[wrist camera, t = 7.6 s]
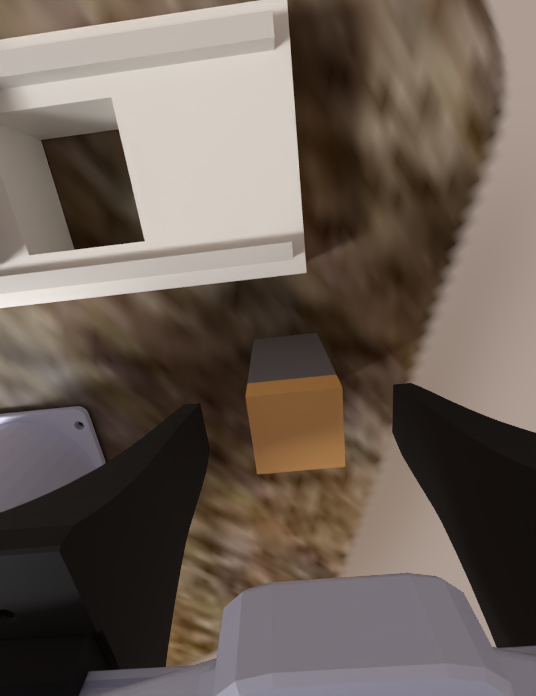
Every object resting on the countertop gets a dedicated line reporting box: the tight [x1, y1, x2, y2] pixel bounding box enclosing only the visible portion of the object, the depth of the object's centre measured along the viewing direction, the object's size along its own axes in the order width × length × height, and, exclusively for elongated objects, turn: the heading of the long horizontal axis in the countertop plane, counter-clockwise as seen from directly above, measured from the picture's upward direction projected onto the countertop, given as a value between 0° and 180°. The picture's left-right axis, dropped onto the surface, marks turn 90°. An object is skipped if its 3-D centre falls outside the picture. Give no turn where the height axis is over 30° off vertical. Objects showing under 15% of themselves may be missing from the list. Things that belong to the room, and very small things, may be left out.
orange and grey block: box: [245, 333, 345, 474], centre depth 14 cm, size 3×3×6 cm
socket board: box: [0, 0, 307, 308], centre depth 12 cm, size 20×8×4 cm, turn 96°
